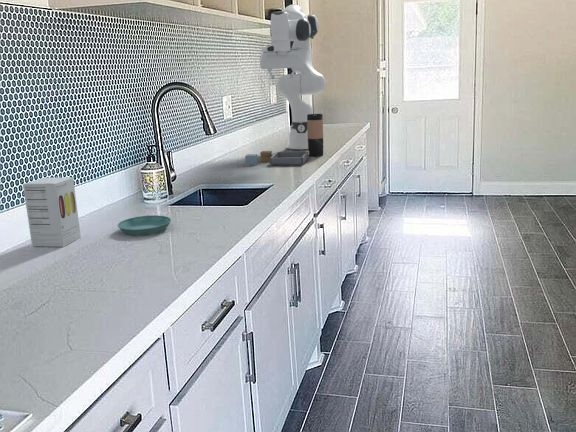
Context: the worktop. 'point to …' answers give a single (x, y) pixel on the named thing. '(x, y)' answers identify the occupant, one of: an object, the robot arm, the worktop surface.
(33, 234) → the supplement box
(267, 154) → the walnut block
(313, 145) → the travel mug
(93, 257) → the worktop surface
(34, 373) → the worktop surface
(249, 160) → the slate block
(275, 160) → the charcoal tray
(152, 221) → the saucer
